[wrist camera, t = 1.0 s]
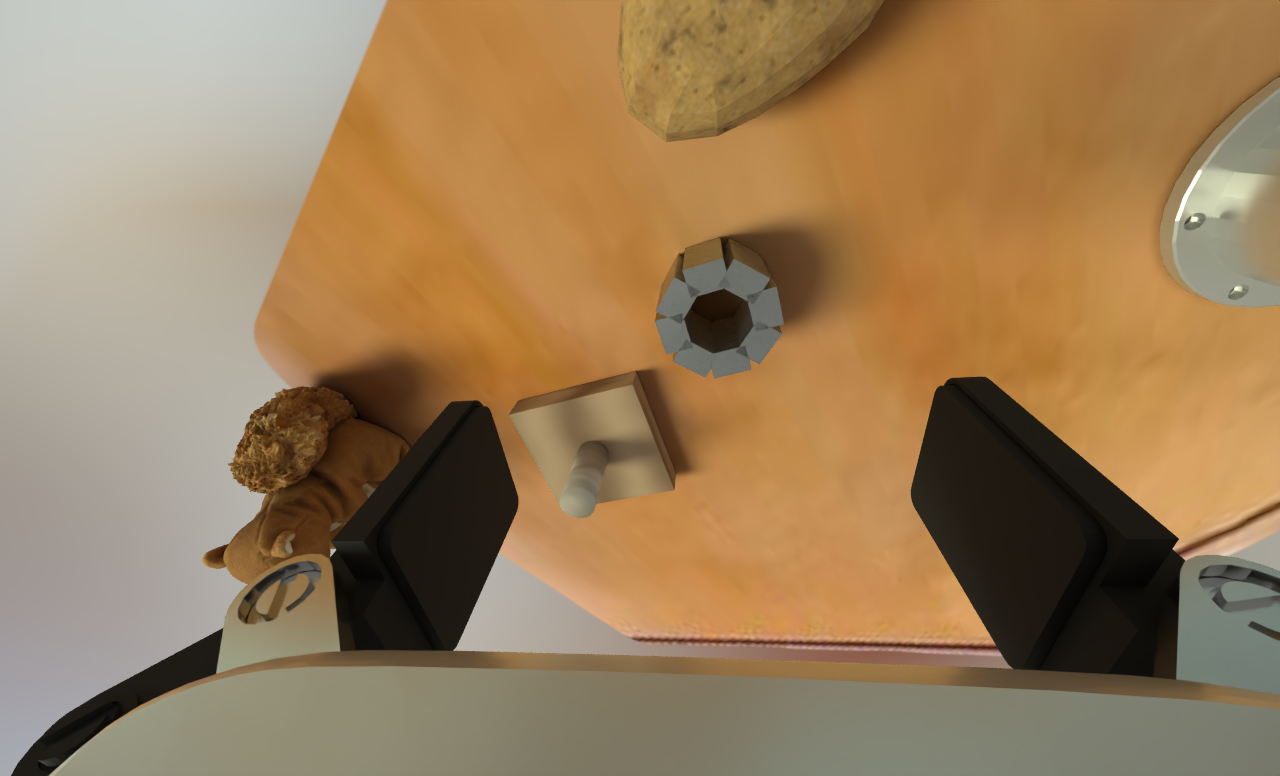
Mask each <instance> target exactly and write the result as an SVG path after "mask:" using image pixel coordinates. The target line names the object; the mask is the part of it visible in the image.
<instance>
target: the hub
mask: <svg viewBox="0 0 1280 776" xmlns="http://www.w3.org/2000/svg"><path fill="white" fill-rule="evenodd" d="M721 289H726V290H727V291H729V292H731V293H733V294H735V295H737V296H739V297H741V298H743V299H744V301H743V302H742V304H741V305H740V307H739V308H738V310H737V311H736V313H735V315H734V316H730V317H727V318H723V319H719V320H716V321H710V320H708V319H706V318H704V317H702V316H700V315H698V314H696V313H695V312H693V311H692V308H691V306H692V304H693V302H694V301H695V299H696V297H697V296H700V295H704V294H707V293H710V292H714V291H717V290H721ZM656 312H657V314H656V318H655V323H656V326H657V328H658V331H659V334H660V337H661V340H662V343H663V346H664V349H665V352H666V354H670V353H674V354H673V362H675V363H677V364H679V365H681V366H683V367H685V368H687V369H689V370H691V371H693V372H695V373H697V374H699V375H701V376H703V377H706V375H707V374H708V372H709V371H710V369H711V368H712V371H713V375H714V378H718V377H722V376H727V375H731V374H735V373H739V372H743V371H748V370H751V365H750V360H752V361H754V362H756V363H758V364H760V363H761V362H762V360H763V359H764V358H765V356H766V355H767V353H768V352H769V351H770V349H771V348H772V347H773V345H774V344H775V342H776V341H777V340H778V338H779V337H780V336H781V334H782V332H781V330H780V327H779V325H782V324H784V320H783V315H782V311H781V306H780V301H779V296H778V291H777V286H776V284H775V282H774V280H773V278H772V276H771V273H770V271H769V269H768V267H767V265H766V263H765V262H763V261H762V258H761V256H760V255H759V254H757V253H756V252H754V251H752V250H750V249H748V248H746V247H745V246H743V245H741V244H739V243H737V242H735V241H734V240H732V239H730V238H729V239H728V241H727V243H726V244H725V246H724V248H722V244H721V240H720V237H719V238H716V239H713V240H710V241H707V242H704V243H700V244H697V245H694V246H691V247H688V248H685V254H684V257H682V256H681V255H679V254H678V256H677V258H676V259H675V261H674V263H673V265H672V267H671V269H670V271H669V273H668V275H667V276H666V278H665V280H664V282H663V284H662V288H661V292H660V296H659V300H658V304H657V308H656ZM749 359H750V360H749Z"/></svg>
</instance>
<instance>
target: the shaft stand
mask: <svg viewBox="0 0 1280 776" xmlns="http://www.w3.org/2000/svg"><path fill="white" fill-rule="evenodd" d="M509 416H510V418H511V420H512V422H513V423H514V425H515V427H516V429H517V431H518V432H519V434H520V436H521V438H522V439H523V441H524V443H525V445H526V447H527V448H528V450H529V452H530V454H531V455H532V457H533V459H534V461H535V463H536V464H537V466H538V468H539V470H540V471H541V473H542V475H543V477H544V479H545V480H546V482H547V484H548V486H549V487H550V489H551V491H552V493H553V495H554V496H555V498H556V500H557V502H558V503H559V505H560V507H561V509H562V510H563V511H564V512H565V513H566V514H568V515H570V516H572V517H576V518H584V517H587V516H589V515H591V514H592V513H593V511H594V508H595V505H596V504H598V503H604V502H609V501H615V500H621V499H627V498H632V497H638V496H644V495H649V494H655V493H661V492H666V491H672V490H675V476H676V473H675V470H674V468H673V465H672V463H671V460H670V457H669V455H668V452H667V450H666V447H665V444H664V442H663V439H662V437H661V434H660V431H659V429H658V426H657V424H656V421H655V419H654V416H653V413H652V411H651V408H650V406H649V403H648V400H647V398H646V395H645V393H644V390H643V388H642V385H641V382H640V380H639V377H638V375H637V372H636V371H635V372H631V373H627V374H623V375H619V376H615V377H611V378H607V379H603V380H599V381H595V382H591V383H587V384H583V385H579V386H575V387H571V388H567V389H563V390H559V391H556V392H552V393H548V394H544V395H540V396H536V397H532V398H528V399H524V400H520V401H518V402H517V403H516V405H515V406H514V408H513V409H512V411H511V412H510V414H509Z"/></svg>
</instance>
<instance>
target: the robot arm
mask: <svg viewBox="0 0 1280 776" xmlns="http://www.w3.org/2000/svg"><path fill="white" fill-rule="evenodd" d="M1159 249H1160V253H1161V256H1162V260H1163V263H1164V267H1165V268H1166V270H1167V271H1168V273H1169V274H1170V276H1171V277H1172V279H1173V280H1174V281H1175V282H1176V283H1177V284H1179V285H1180V286H1181V287H1183V288H1184V289H1185V290H1186V291H1188V292H1190V293H1192V294H1195V295H1197V296H1200V297H1202V298H1205V299H1207V300H1210V301H1213V302H1216V303H1220V304H1223V305H1227V306H1236V307H1248V308H1258V307H1271V306H1280V77H1278V78H1276V79H1275V80H1273V81H1272V82H1270V83H1269V84H1268V85H1267V86H1265V87H1264V88H1263V89H1261V90H1260V91H1259V92H1257V93H1256V94H1255V95H1253V96H1252V97H1251V98H1249V99H1248V100H1247V101H1245V102H1244V103H1243V104H1242V105H1241V106H1240V107H1238V108H1237V109H1236V110H1235V111H1234V112H1233V113H1232V114H1231V115H1230V116H1229V117H1228V118H1227V119H1226V120H1225V121H1224V122H1223V123H1222V124H1220V125H1219V126H1218V127H1217V128H1216V129H1215V130H1214V131H1213V133H1212V134H1211V135H1210V136H1209V137H1208V139H1207V140H1206V141H1205V142H1204V143H1203V144H1202V146H1201V147H1200V148H1199V149H1198V150H1197V152H1196V153H1195V154H1194V155H1193V156H1192V158H1191V160H1190V161H1189V163H1188V164H1187V166H1186V167H1185V169H1184V170H1183V172H1182V173H1181V175H1180V177H1179V178H1178V180H1177V181H1176V183H1175V185H1174V188H1173V190H1172V192H1171V194H1170V197H1169V199H1168V201H1167V203H1166V205H1165V209H1164V213H1163V217H1162V221H1161V225H1160V248H1159ZM911 498H912V502H913V505H914V507H915V509H916V511H917V512H918V514H919V516H920V518H921V519H922V521H923V523H924V524H925V526H926V528H927V529H928V531H929V533H930V534H931V536H932V538H933V539H934V541H935V543H936V544H937V546H938V548H939V550H940V551H941V553H942V555H943V556H944V558H945V560H946V561H947V563H948V565H949V566H950V568H951V570H952V571H953V573H954V575H955V577H956V578H957V580H958V582H959V583H960V585H961V587H962V588H963V590H964V592H965V593H966V595H967V597H968V598H969V600H970V602H971V604H972V605H973V607H974V609H975V610H976V612H977V614H978V615H979V617H980V619H981V620H982V622H983V624H984V625H985V627H986V629H987V630H988V632H989V634H990V636H991V637H992V639H993V641H994V642H995V644H996V646H997V647H998V649H999V651H1000V652H1001V654H1002V656H1003V657H1004V659H1005V660H1006V662H1007V663H1008V664H1009V665H1010V666H1011V667H1012V668H1013V669H1002V668H976V667H950V666H948V667H947V666H923V665H896V664H869V663H842V662H814V661H813V662H812V661H784V660H754V659H724V658H693V657H660V656H628V655H592V654H556V653H517V652H479V651H478V652H476V651H453V650H454V649H455V648H456V646H457V644H458V642H459V640H460V638H461V636H462V634H463V631H464V629H465V627H466V625H467V622H468V620H469V618H470V615H471V613H472V611H473V609H474V607H475V604H476V602H477V600H478V598H479V595H480V593H481V591H482V589H483V586H484V584H485V582H486V580H487V577H488V575H489V573H490V571H491V568H492V566H493V564H494V562H495V559H496V557H497V555H498V553H499V550H500V548H501V546H502V544H503V541H504V539H505V537H506V535H507V532H508V530H509V528H510V526H511V524H512V521H513V519H514V517H515V515H516V512H517V509H518V495H517V491H516V488H515V485H514V482H513V479H512V476H511V473H510V470H509V467H508V463H507V460H506V457H505V454H504V451H503V448H502V445H501V442H500V439H499V436H498V432H497V429H496V426H495V423H494V420H493V417H492V414H491V411H490V409H489V408H488V407H486V406H484V407H483V405H482V404H481V403H480V402H479V401H455V402H451V403H450V404H449V405H448V406H447V407H446V408H445V409H444V411H443V412H442V413H441V414H440V415H439V416H438V418H437V419H436V420H435V421H434V422H433V423H432V425H431V426H430V427H429V428H428V429H427V430H426V432H425V433H424V434H423V435H422V436H421V437H420V438H419V440H418V441H417V442H416V443H415V444H414V445H413V447H412V448H411V449H410V450H409V451H408V452H407V454H406V455H405V456H404V457H403V458H402V459H401V461H400V462H399V463H398V464H397V465H396V466H395V468H394V469H393V470H392V471H391V472H390V473H389V475H388V476H387V477H386V478H385V479H384V480H383V481H382V483H381V484H380V485H379V486H378V487H377V488H376V490H375V491H374V492H373V493H372V494H371V495H370V497H369V498H368V499H367V500H366V501H365V502H364V504H363V505H362V506H361V507H360V508H359V509H358V511H357V512H356V513H355V514H354V515H353V516H352V517H351V519H350V520H349V521H348V522H347V523H346V524H345V526H344V527H343V528H342V529H341V530H340V531H339V533H338V534H337V535H336V536H335V537H334V538H333V540H332V541H331V542H332V544H333V545H334V547H335V548H336V551H335V553H334V554H333V555H332V556H331V557H330V558H327V557H325V556H323V555H321V554H306V555H301V556H296V557H293V558H291V559H288V560H285V561H283V562H281V563H279V564H277V565H275V566H273V567H271V568H270V569H268V570H266V571H265V572H263V573H262V574H260V575H259V576H258V577H256V578H255V579H253V580H252V581H251V582H250V583H249V584H248V585H247V586H246V587H245V588H244V589H243V590H241V591H240V593H239V594H238V595H237V596H236V598H235V599H234V600H233V602H232V603H231V605H230V606H229V609H228V611H227V614H226V616H225V621H224V628H222V629H221V630H219V631H217V632H215V633H213V634H211V635H209V636H207V637H205V638H204V639H202V640H200V641H198V642H196V643H194V644H192V645H191V646H189V647H187V648H185V649H183V650H181V651H179V652H177V653H175V654H174V655H172V656H170V657H168V658H166V659H164V660H162V661H160V662H159V663H157V664H155V665H153V666H151V667H149V668H148V669H146V670H144V671H142V672H140V673H138V674H136V675H134V676H133V677H131V678H129V679H127V680H125V681H123V682H121V683H119V684H117V685H116V686H113V687H112V688H110V689H108V690H106V691H104V692H102V693H100V694H98V695H97V696H95V697H93V698H92V699H90V700H89V701H87V702H85V703H84V704H82V705H80V706H79V707H77V708H75V709H74V710H72V711H70V712H69V713H67V714H66V715H65V716H63V717H62V718H61V719H59V720H58V721H57V722H56V723H55V724H54V725H52V726H51V727H50V728H49V729H48V730H47V731H46V732H45V733H44V735H43V736H42V737H41V738H40V739H39V740H37V741H36V742H35V743H34V744H33V746H32V747H31V748H30V749H29V750H28V752H27V753H26V754H25V755H24V757H23V758H22V759H21V760H20V762H19V763H18V764H17V766H16V768H15V769H14V771H13V773H12V775H11V776H1280V571H1278V570H1275V569H1273V568H1270V567H1268V566H1265V565H1261V564H1257V563H1254V562H1250V561H1246V560H1243V559H1239V558H1234V557H1227V556H1220V555H1204V556H1195V557H1193V558H1191V559H1189V560H1187V561H1185V560H1184V559H1183V558H1182V557H1181V556H1179V555H1178V554H1177V553H1176V552H1175V551H1174V550H1173V547H1174V546H1175V544H1176V543H1177V541H1178V540H1179V538H1177V537H1176V536H1175V535H1174V534H1173V533H1171V532H1170V531H1169V530H1168V529H1167V528H1166V527H1164V526H1163V525H1162V524H1161V523H1160V522H1158V521H1157V520H1156V519H1155V518H1154V517H1152V516H1151V515H1150V514H1149V513H1148V512H1146V511H1145V510H1144V509H1143V508H1142V507H1141V506H1139V505H1138V504H1137V503H1136V502H1135V501H1133V500H1132V499H1131V498H1130V497H1129V496H1127V495H1126V494H1125V493H1124V492H1123V491H1122V490H1120V489H1119V488H1118V487H1117V486H1116V485H1114V484H1113V483H1112V482H1111V481H1110V480H1108V479H1107V478H1106V477H1105V476H1104V475H1103V474H1101V473H1100V472H1099V471H1098V470H1097V469H1095V468H1094V467H1093V466H1092V465H1091V464H1089V463H1088V462H1087V461H1086V460H1085V459H1083V458H1082V457H1081V456H1080V455H1079V454H1078V453H1076V452H1075V451H1074V450H1073V449H1072V448H1070V447H1069V446H1068V445H1067V444H1066V443H1064V442H1063V441H1062V440H1061V439H1060V438H1059V437H1057V436H1056V435H1055V434H1054V433H1053V432H1051V431H1050V430H1049V429H1048V428H1047V427H1045V426H1044V425H1043V424H1042V423H1041V422H1040V421H1038V420H1037V419H1036V418H1035V417H1034V416H1032V415H1031V414H1030V413H1029V412H1028V411H1026V410H1025V409H1024V408H1023V407H1022V406H1020V405H1019V404H1018V403H1017V402H1016V401H1015V400H1013V399H1012V398H1011V397H1010V396H1009V395H1007V394H1006V393H1005V392H1004V391H1003V390H1001V389H1000V388H999V387H998V386H997V385H996V384H994V383H993V382H992V381H991V380H990V379H988V378H986V377H964V378H951V379H949V380H947V382H946V383H945V385H944V386H939V387H938V388H937V389H936V391H935V394H934V398H933V402H932V406H931V410H930V414H929V418H928V422H927V426H926V430H925V434H924V438H923V443H922V447H921V451H920V455H919V459H918V463H917V467H916V471H915V475H914V479H913V483H912V487H911Z"/></svg>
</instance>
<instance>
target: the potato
mask: <svg viewBox="0 0 1280 776" xmlns="http://www.w3.org/2000/svg"><path fill="white" fill-rule="evenodd" d="M883 1H884V0H622V4H621V14H620V28H619V43H618V67H619V72H620V77H621V81H622V86H623V91H624V95H625V100H626V105H627V109H628V113H629V114H630V115H631V116H633V117H634V118H635V119H636V120H638V121H639V122H640V123H642V124H643V125H644V126H646V127H647V128H648V129H650V130H651V131H652V132H654V133H655V134H656V135H658V136H659V137H660V138H662V139H663V140H664V141H665V142H671V141H680V140H688V139H696V138H705V137H713V136H719V135H721V134H723V133H725V132H727V131H729V130H731V129H733V128H735V127H737V126H739V125H741V124H743V123H745V122H747V121H749V120H751V119H754V118H756V117H758V116H759V115H761V114H762V113H763V112H765V111H766V110H768V109H769V108H771V107H772V106H774V105H775V104H776V103H778V102H779V101H781V100H782V99H784V98H785V97H787V96H788V95H789V94H791V93H792V92H794V91H795V90H797V89H798V88H799V87H801V86H802V85H803V84H805V83H806V82H807V81H808V80H809V79H811V78H812V77H813V76H814V75H816V74H817V73H818V72H819V71H821V70H822V69H823V68H824V67H825V66H827V65H828V64H829V63H830V62H832V61H833V60H834V59H835V58H836V57H837V56H838V55H839V54H840V53H841V52H842V51H843V50H844V49H846V48H847V47H848V46H849V45H850V44H851V43H852V42H853V41H854V40H855V39H856V38H857V37H858V36H859V35H860V34H862V33H863V32H864V31H865V30H866V29H867V28H868V27H869V25H870V24H871V22H872V20H873V18H874V17H875V15H876V13H877V12H878V10H879V8H880V7H881V5H882V3H883Z"/></svg>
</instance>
